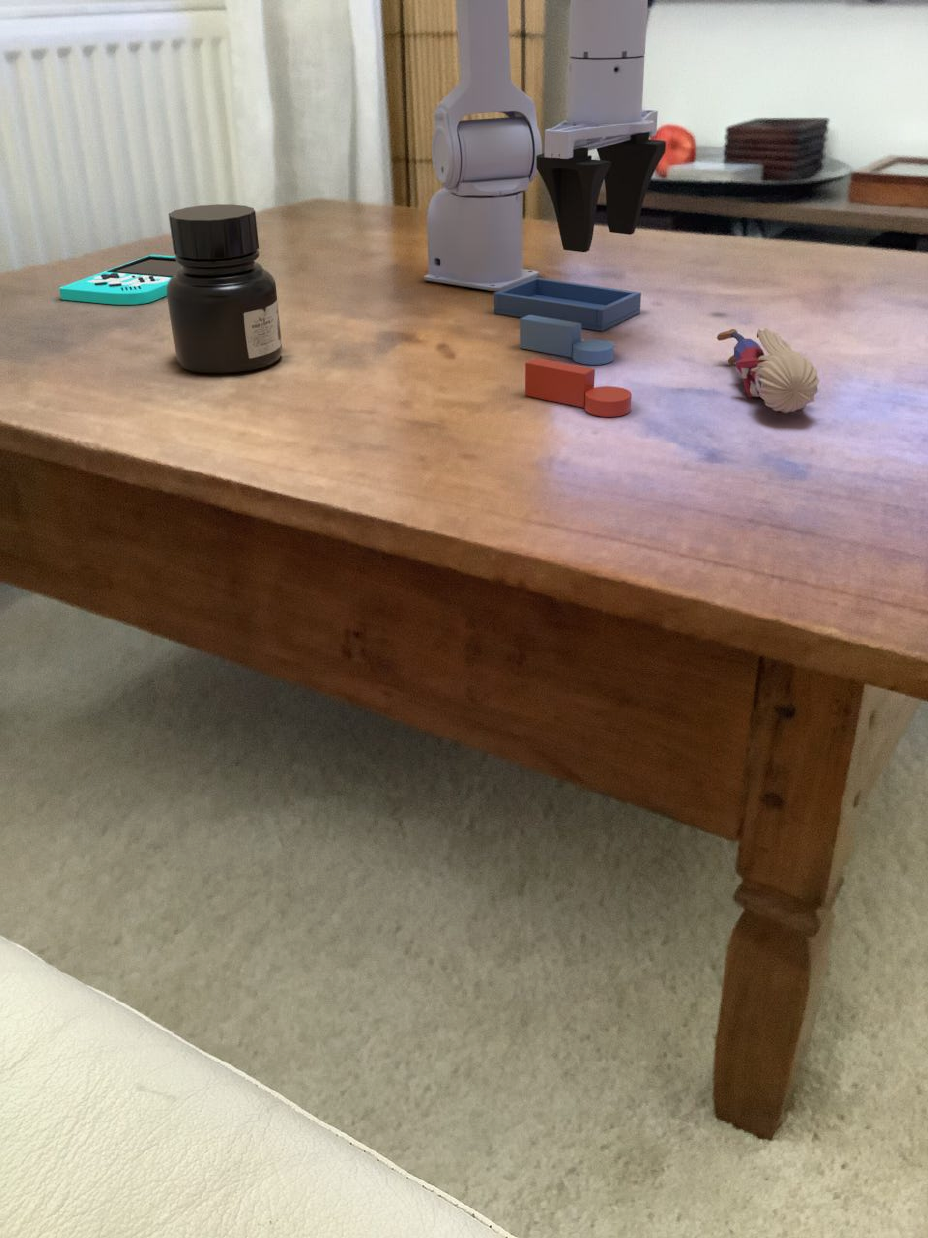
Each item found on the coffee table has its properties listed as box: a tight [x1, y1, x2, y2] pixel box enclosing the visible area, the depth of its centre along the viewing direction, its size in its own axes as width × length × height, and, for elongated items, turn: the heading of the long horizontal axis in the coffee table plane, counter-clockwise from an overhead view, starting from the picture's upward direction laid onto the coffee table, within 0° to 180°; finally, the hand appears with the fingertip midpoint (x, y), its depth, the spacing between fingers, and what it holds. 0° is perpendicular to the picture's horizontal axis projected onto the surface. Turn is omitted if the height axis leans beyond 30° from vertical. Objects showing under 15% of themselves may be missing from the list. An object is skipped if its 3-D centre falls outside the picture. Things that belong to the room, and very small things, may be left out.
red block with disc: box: [524, 357, 633, 418], centre depth 84 cm, size 8×3×3 cm, turn 54°
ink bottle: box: [166, 203, 283, 374], centre depth 93 cm, size 10×9×12 cm
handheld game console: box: [58, 254, 182, 306], centre depth 119 cm, size 10×16×1 cm, turn 158°
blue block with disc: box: [519, 315, 615, 366], centre depth 95 cm, size 8×3×3 cm, turn 54°
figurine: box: [716, 328, 820, 414], centre depth 85 cm, size 6×4×15 cm
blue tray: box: [493, 276, 642, 332], centre depth 106 cm, size 12×7×2 cm, turn 54°
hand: (599, 241), depth 93 cm, fingers open, 7 cm apart
